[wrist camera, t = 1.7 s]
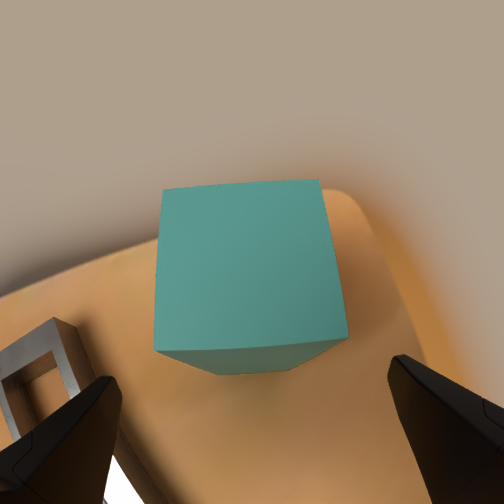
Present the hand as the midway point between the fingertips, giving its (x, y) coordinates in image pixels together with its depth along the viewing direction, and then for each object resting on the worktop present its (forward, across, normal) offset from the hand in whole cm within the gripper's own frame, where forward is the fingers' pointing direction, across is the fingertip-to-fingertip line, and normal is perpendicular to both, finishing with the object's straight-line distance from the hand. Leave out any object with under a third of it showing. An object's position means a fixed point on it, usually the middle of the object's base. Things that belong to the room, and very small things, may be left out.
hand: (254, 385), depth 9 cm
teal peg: (+10, 0, +5) cm, 11 cm away
